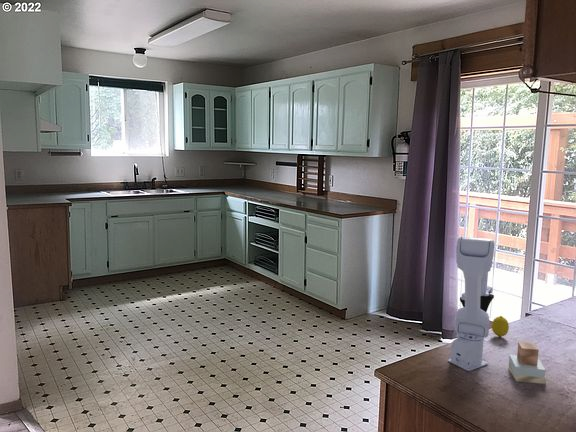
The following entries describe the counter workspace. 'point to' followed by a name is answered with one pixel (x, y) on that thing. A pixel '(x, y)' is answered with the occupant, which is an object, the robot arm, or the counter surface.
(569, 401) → the counter surface
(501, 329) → the lemon
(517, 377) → the tower base
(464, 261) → the robot arm
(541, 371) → the tower top
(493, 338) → the counter surface
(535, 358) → the block
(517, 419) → the counter surface
